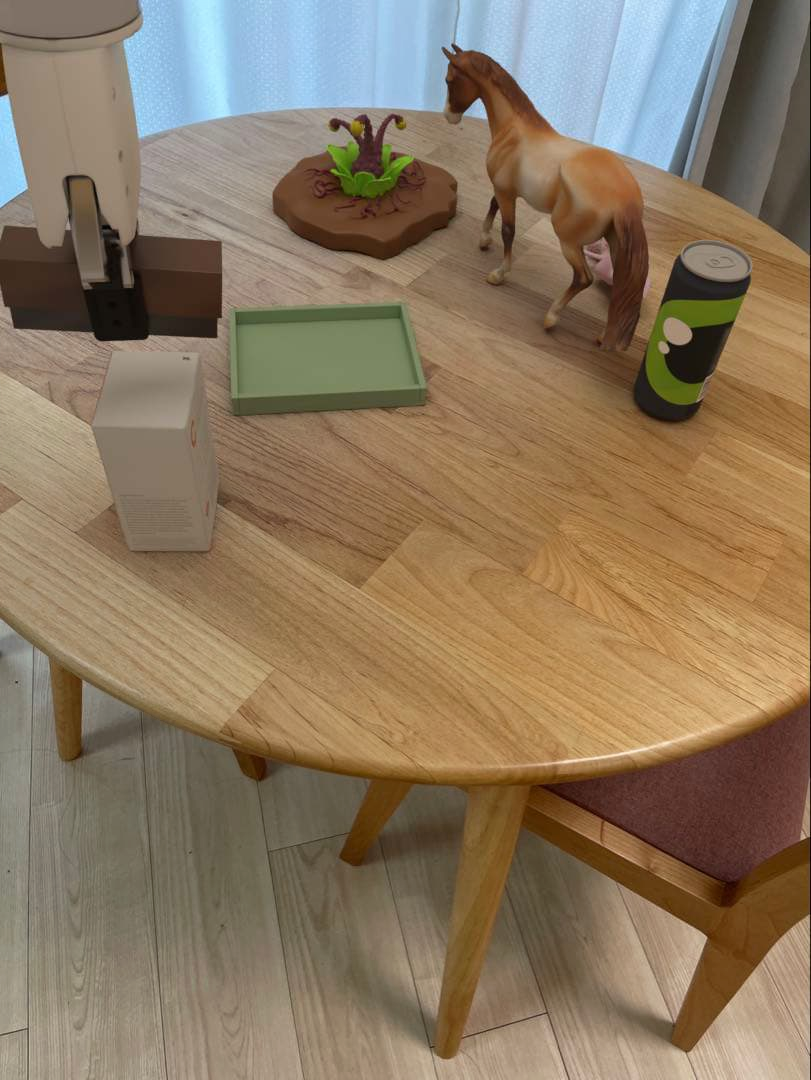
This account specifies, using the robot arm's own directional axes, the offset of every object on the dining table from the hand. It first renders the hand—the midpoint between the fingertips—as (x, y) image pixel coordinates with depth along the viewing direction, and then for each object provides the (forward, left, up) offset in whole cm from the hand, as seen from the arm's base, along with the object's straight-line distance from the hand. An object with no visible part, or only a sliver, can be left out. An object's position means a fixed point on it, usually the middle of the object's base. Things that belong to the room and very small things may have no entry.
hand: (124, 314), depth 55 cm
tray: (+14, +18, -19) cm, 30 cm away
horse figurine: (+34, +25, -19) cm, 46 cm away
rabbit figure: (+46, +30, -19) cm, 58 cm away
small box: (0, 0, -19) cm, 19 cm away
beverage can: (+45, +10, -19) cm, 50 cm away
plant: (+21, +46, -19) cm, 54 cm away
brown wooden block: (0, 0, 0) cm, 0 cm away
